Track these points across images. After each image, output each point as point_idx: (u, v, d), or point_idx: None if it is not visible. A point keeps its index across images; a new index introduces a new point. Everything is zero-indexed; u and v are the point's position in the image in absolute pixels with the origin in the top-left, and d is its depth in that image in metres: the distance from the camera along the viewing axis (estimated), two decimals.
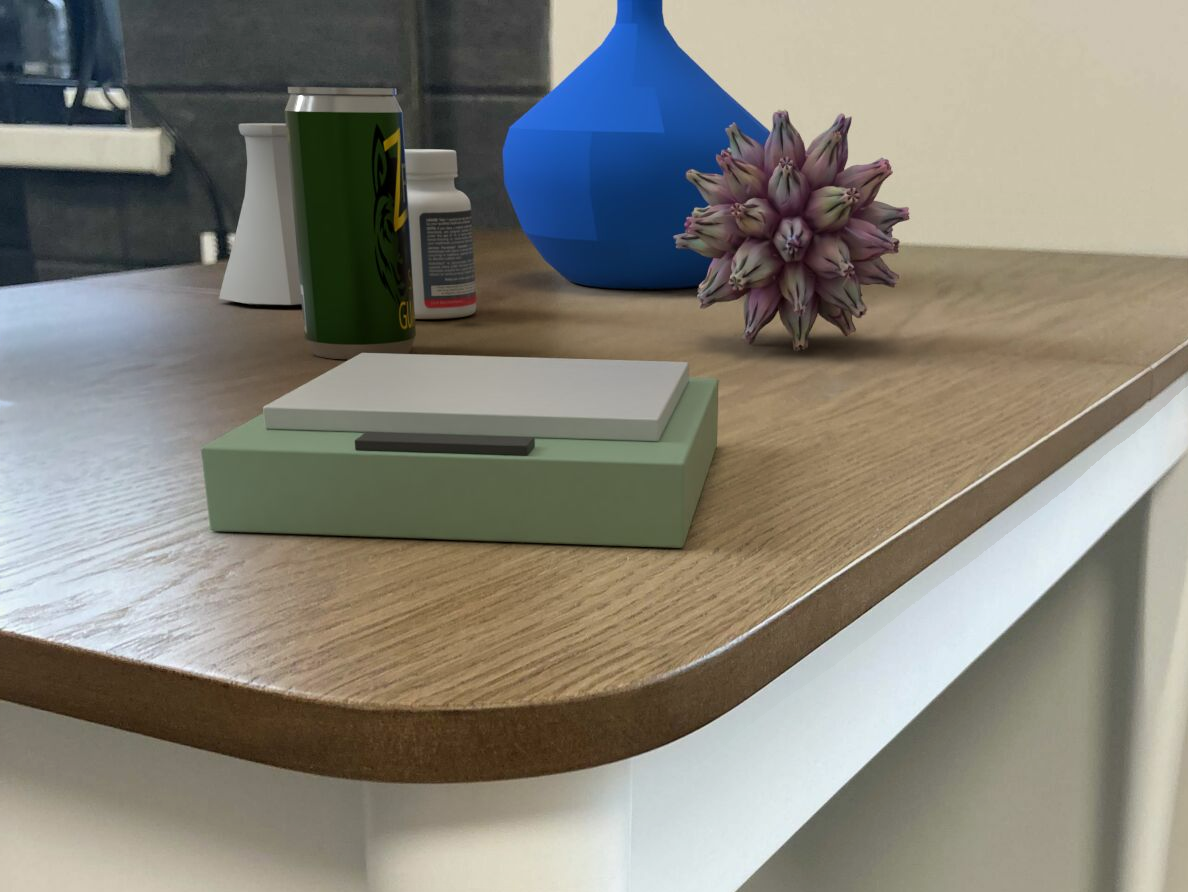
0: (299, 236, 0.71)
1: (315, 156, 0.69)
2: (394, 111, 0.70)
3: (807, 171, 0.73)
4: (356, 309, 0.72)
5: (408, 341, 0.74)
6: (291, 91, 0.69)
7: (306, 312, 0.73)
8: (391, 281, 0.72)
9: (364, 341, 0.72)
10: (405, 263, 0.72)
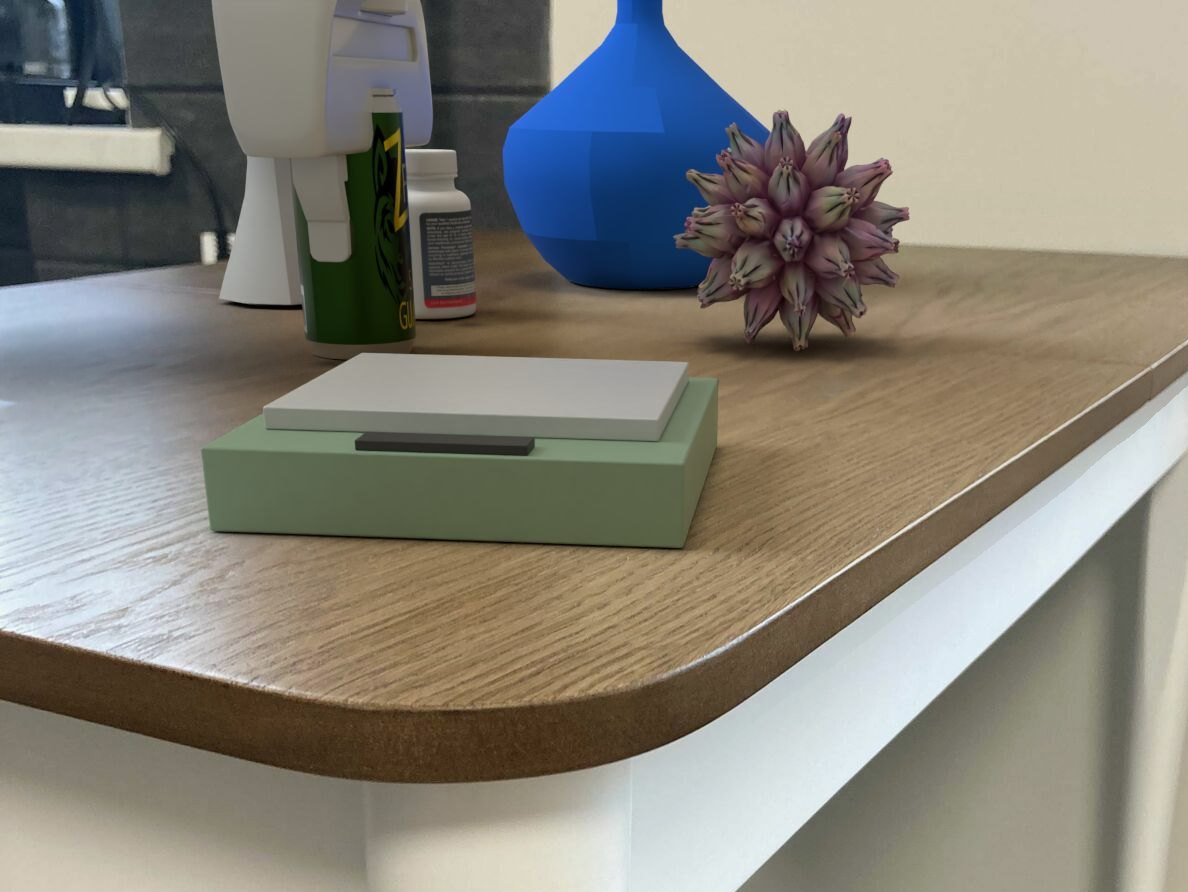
0: (299, 236, 0.71)
1: None
2: (395, 111, 0.70)
3: (807, 171, 0.73)
4: (356, 309, 0.72)
5: (409, 342, 0.74)
6: None
7: (306, 312, 0.73)
8: (391, 281, 0.72)
9: (364, 341, 0.72)
10: (405, 263, 0.72)
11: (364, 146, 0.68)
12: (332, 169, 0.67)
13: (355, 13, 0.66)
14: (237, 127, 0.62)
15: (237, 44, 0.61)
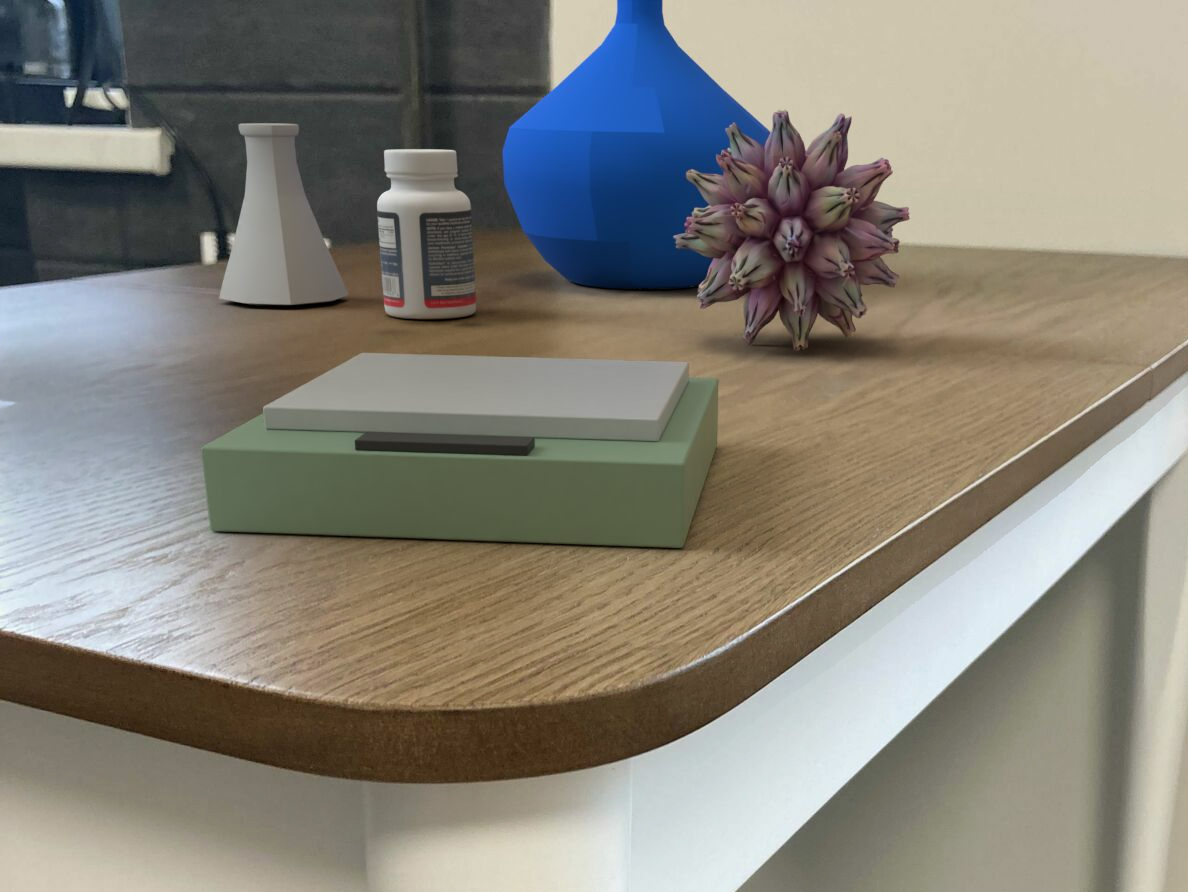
0: None
1: None
2: None
3: (807, 171, 0.73)
4: None
5: None
6: None
7: None
8: None
9: None
10: None
11: None
12: None
13: None
14: None
15: None
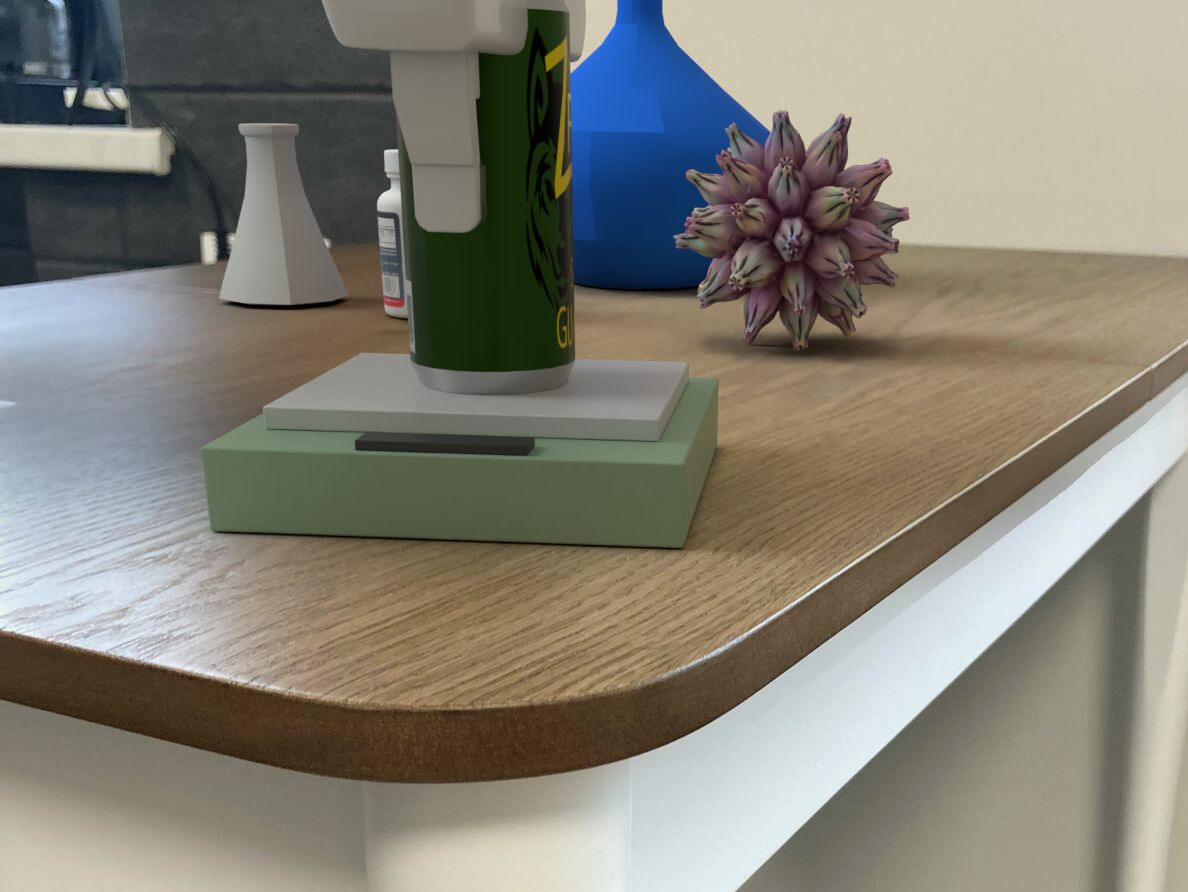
0: (408, 205, 0.46)
1: None
2: (561, 9, 0.45)
3: (807, 171, 0.73)
4: (494, 317, 0.47)
5: (567, 367, 0.49)
6: None
7: (415, 322, 0.48)
8: (548, 275, 0.47)
9: (505, 367, 0.47)
10: (567, 248, 0.47)
11: (517, 43, 0.43)
12: (458, 76, 0.40)
13: None
14: None
15: None
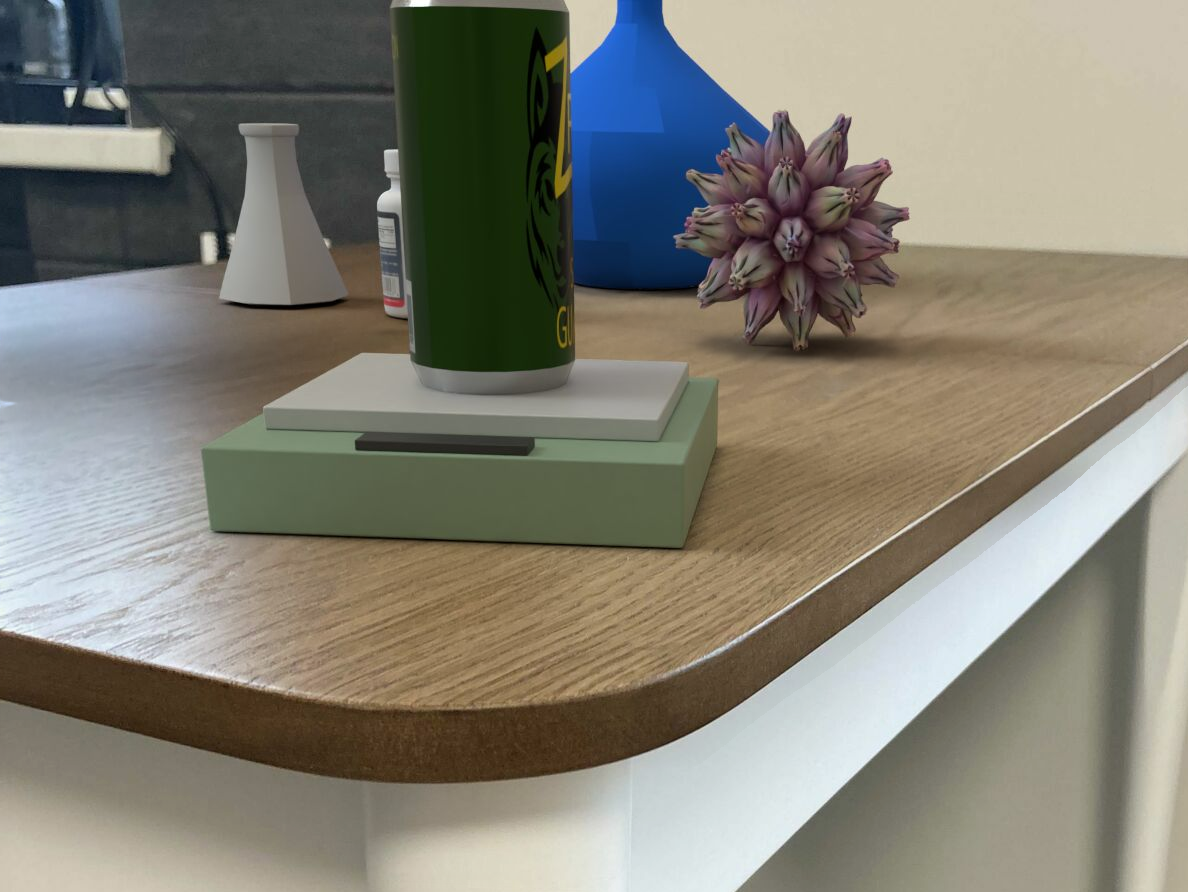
0: (408, 205, 0.46)
1: (440, 78, 0.44)
2: (561, 9, 0.45)
3: (807, 171, 0.73)
4: (494, 317, 0.47)
5: (567, 367, 0.49)
6: None
7: (415, 322, 0.48)
8: (548, 275, 0.47)
9: (505, 367, 0.47)
10: (567, 248, 0.47)
11: None
12: None
13: None
14: None
15: None
